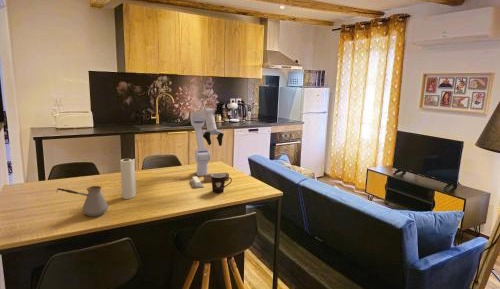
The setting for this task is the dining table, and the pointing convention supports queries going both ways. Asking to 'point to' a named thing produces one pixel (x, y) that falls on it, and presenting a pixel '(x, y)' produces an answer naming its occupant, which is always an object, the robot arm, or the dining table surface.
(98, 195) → the coffee pot
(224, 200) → the dining table surface
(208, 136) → the robot arm
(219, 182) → the coffee mug
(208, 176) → the walnut bar
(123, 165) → the paper towel roll
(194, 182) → the ridge
